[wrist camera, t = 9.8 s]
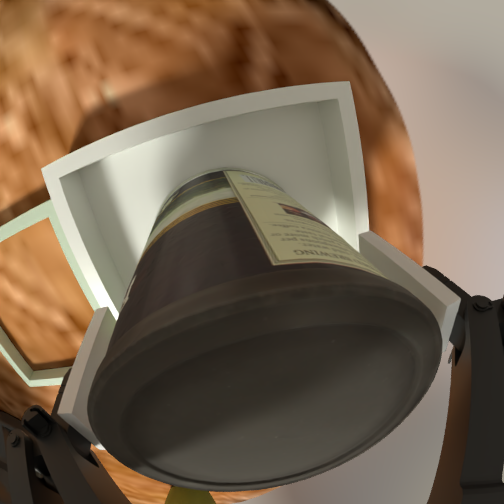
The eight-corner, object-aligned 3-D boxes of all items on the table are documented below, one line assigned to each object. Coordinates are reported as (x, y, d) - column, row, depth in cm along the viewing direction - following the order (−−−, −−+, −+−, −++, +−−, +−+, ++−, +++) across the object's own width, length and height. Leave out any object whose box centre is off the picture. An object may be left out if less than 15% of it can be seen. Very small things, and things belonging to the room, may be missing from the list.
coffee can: (162, 311, 20) (149, 496, 8) (145, 171, 16) (10, 299, 3) (295, 301, 22) (378, 459, 9) (307, 167, 18) (492, 261, 5)
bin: (157, 359, 23) (154, 388, 20) (65, 160, 15) (40, 168, 12) (350, 303, 24) (368, 326, 21) (324, 87, 16) (349, 81, 13)
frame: (33, 377, 22) (29, 386, 21) (-43, 255, 15) (-52, 262, 13) (147, 361, 23) (146, 373, 22) (63, 192, 16) (54, 197, 14)
